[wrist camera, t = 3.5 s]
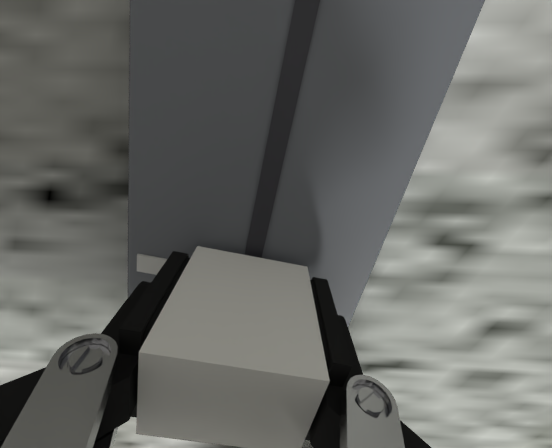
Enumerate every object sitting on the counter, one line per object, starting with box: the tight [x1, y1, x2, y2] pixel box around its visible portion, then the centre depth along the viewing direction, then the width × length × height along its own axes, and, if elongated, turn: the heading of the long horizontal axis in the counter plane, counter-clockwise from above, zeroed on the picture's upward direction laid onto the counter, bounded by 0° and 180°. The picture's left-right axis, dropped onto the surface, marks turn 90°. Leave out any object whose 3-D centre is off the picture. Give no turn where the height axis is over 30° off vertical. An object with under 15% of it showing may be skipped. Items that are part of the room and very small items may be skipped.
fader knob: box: [136, 246, 330, 448], centre depth 9 cm, size 3×4×5 cm
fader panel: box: [128, 0, 485, 327], centre depth 10 cm, size 23×10×2 cm, turn 168°
